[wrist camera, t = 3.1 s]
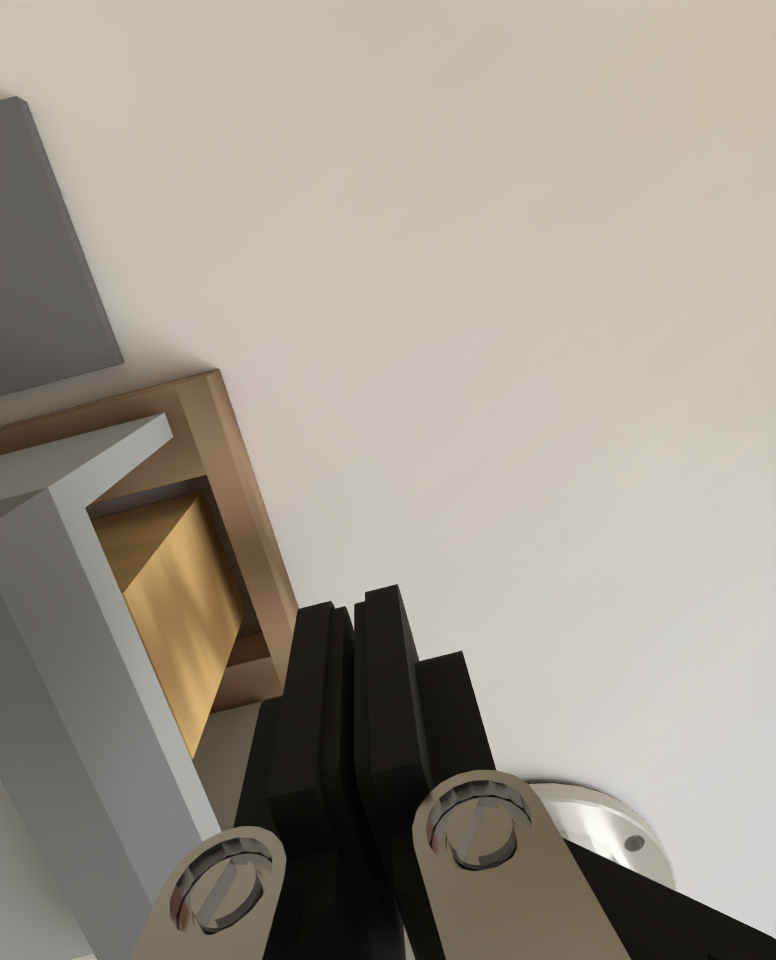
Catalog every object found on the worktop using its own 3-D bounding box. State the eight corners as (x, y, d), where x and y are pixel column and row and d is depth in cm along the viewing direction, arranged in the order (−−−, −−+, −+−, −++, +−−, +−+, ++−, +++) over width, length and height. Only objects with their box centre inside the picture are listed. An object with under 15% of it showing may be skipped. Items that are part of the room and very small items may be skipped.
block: (245, 610, 24) (193, 759, 17) (120, 641, 24) (12, 802, 17) (202, 490, 23) (123, 592, 15) (70, 525, 23) (-74, 642, 15)
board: (324, 685, 25) (321, 718, 23) (-55, 778, 26) (-88, 818, 24) (219, 368, 22) (205, 376, 20) (-222, 485, 22) (-277, 503, 20)
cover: (275, 717, 23) (214, 1033, 13) (91, 762, 23) (-102, 1106, 14) (164, 412, 20) (-28, 535, 10) (-50, 468, 20) (-444, 643, 10)
